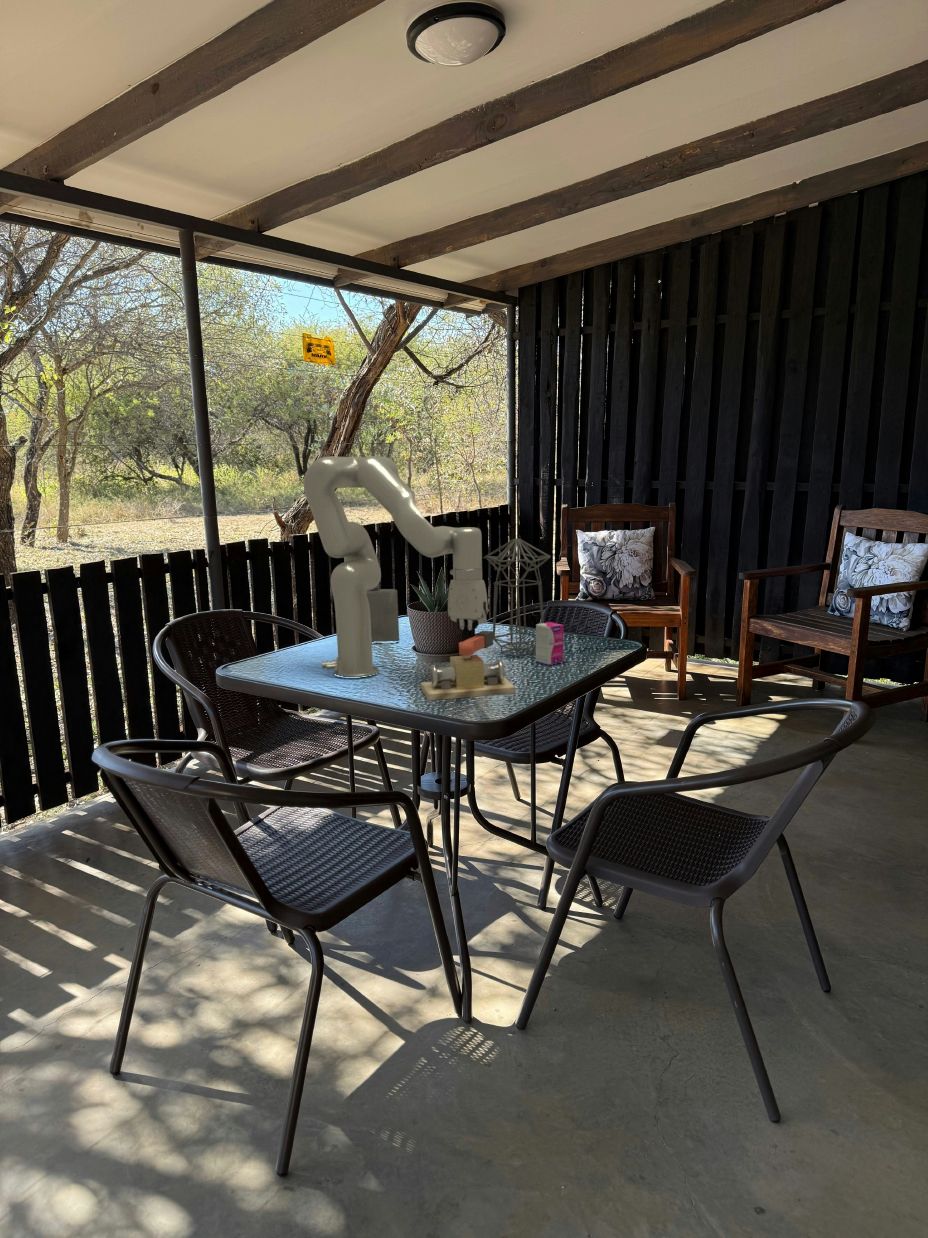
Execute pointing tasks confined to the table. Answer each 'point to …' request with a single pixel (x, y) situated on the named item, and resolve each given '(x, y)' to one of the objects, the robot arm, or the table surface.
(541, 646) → the supplement box
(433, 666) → the pipe valve
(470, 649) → the valve lever
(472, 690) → the mounting board
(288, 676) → the table surface
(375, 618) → the flask
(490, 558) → the geometric lantern
